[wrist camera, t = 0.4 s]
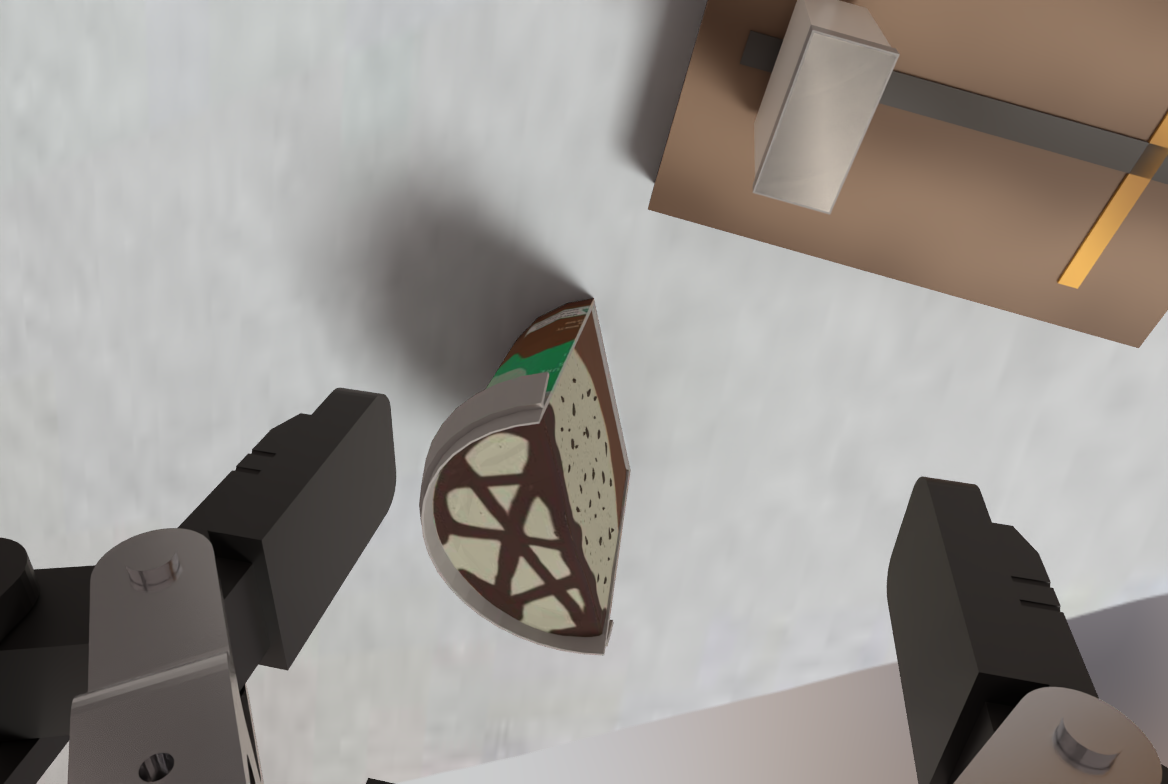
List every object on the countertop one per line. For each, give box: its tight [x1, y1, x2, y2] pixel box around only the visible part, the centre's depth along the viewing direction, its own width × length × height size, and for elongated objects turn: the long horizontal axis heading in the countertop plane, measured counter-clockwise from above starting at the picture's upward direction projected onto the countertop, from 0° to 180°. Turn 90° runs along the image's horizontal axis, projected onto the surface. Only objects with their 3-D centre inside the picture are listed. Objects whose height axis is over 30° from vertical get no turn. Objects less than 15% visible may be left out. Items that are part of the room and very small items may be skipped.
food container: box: [419, 298, 630, 655], centre depth 34 cm, size 12×6×10 cm, turn 11°
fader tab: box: [753, 0, 900, 214], centre depth 23 cm, size 4×2×6 cm, turn 167°
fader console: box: [648, 0, 1168, 348], centre depth 26 cm, size 12×18×3 cm, turn 77°
